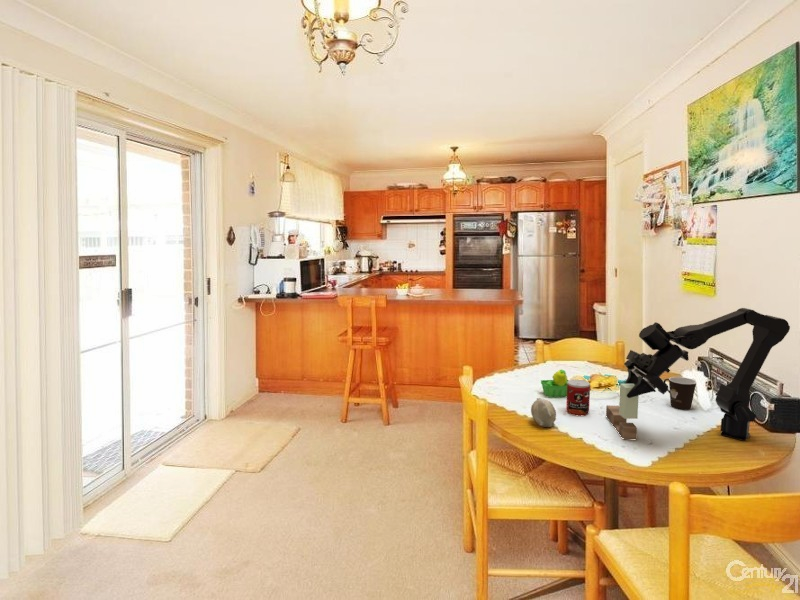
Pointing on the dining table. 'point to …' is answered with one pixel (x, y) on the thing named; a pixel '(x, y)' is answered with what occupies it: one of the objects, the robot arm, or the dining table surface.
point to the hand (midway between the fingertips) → (624, 394)
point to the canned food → (578, 397)
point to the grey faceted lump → (543, 412)
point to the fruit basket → (556, 385)
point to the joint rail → (621, 423)
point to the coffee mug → (681, 392)
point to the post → (628, 403)
